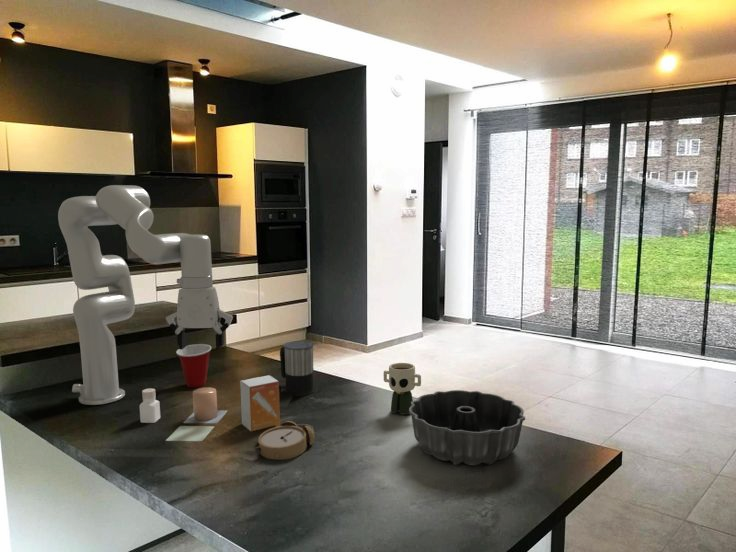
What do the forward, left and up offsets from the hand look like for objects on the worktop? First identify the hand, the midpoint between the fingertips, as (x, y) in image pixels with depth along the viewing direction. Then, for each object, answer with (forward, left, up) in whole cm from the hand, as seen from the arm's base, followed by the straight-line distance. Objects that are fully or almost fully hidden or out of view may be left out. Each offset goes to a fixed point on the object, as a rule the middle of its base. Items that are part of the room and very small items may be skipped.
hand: (201, 348), depth 151 cm
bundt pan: (+67, -14, -21) cm, 71 cm away
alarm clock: (+25, -14, -21) cm, 35 cm away
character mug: (+52, +9, -21) cm, 57 cm away
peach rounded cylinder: (0, +1, -19) cm, 19 cm away
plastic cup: (-14, +31, -21) cm, 40 cm away
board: (0, -5, -20) cm, 21 cm away
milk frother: (+17, +24, -21) cm, 36 cm away
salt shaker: (-14, -2, -21) cm, 25 cm away
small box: (+16, -4, -21) cm, 26 cm away
